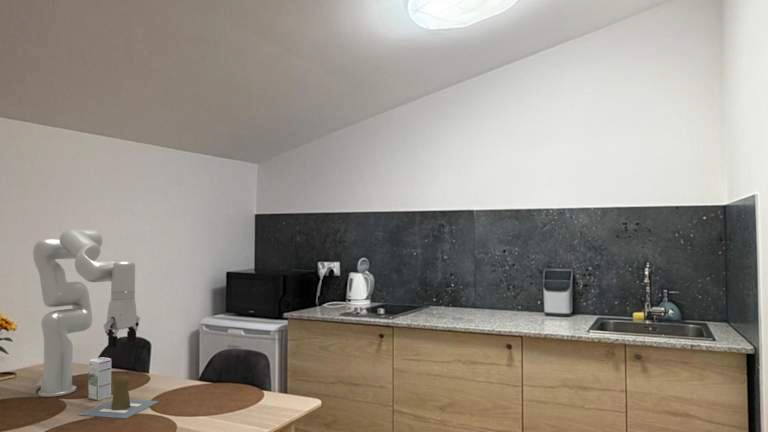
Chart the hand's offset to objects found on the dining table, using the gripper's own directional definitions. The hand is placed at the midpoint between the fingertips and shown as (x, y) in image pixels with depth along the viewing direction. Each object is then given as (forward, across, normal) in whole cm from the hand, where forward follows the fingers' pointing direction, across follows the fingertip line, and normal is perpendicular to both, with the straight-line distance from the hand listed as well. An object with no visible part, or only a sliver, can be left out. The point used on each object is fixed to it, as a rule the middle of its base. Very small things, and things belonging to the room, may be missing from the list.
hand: (122, 344), depth 182 cm
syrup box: (+22, -9, -16) cm, 29 cm away
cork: (+22, 0, 0) cm, 22 cm away
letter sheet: (+22, 0, 0) cm, 22 cm away
